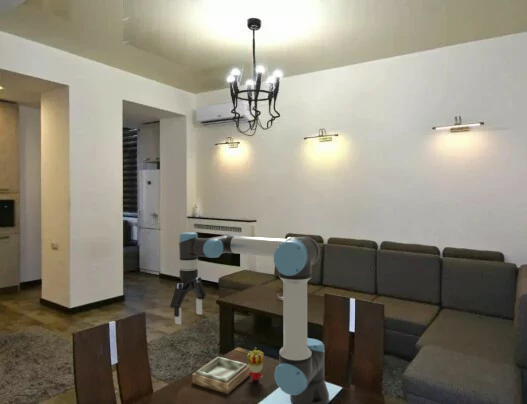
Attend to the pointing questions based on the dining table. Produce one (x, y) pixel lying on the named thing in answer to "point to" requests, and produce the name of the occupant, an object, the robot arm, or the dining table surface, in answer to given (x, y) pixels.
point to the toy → (255, 364)
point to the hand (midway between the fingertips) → (189, 318)
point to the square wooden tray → (221, 374)
